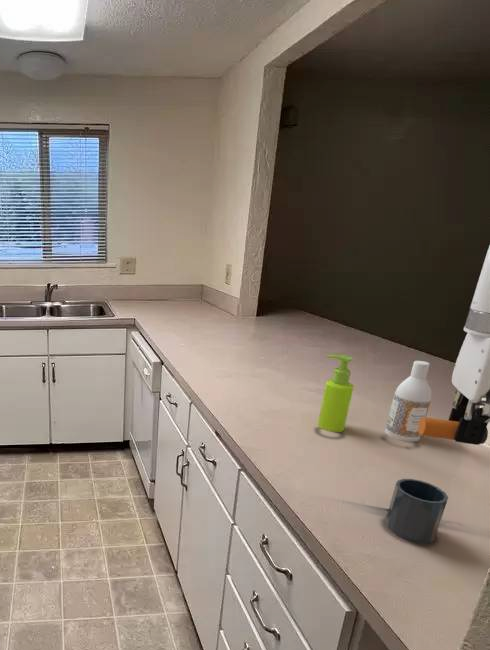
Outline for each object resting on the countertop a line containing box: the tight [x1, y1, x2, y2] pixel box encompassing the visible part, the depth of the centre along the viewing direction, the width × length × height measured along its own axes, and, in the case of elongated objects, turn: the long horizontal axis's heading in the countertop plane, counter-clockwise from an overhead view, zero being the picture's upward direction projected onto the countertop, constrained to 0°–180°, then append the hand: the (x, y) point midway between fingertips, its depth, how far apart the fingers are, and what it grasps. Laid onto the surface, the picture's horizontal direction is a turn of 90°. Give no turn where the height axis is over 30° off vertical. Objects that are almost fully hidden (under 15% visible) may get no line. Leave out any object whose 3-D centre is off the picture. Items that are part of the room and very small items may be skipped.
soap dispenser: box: [317, 353, 355, 433], centre depth 107 cm, size 6×7×20 cm
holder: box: [385, 478, 449, 544], centre depth 74 cm, size 7×7×8 cm
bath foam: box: [384, 360, 432, 443], centre depth 103 cm, size 7×7×20 cm
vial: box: [418, 416, 489, 445], centre depth 69 cm, size 8×3×3 cm, turn 68°
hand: (462, 436), depth 69 cm, fingers closed on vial, 3 cm apart
